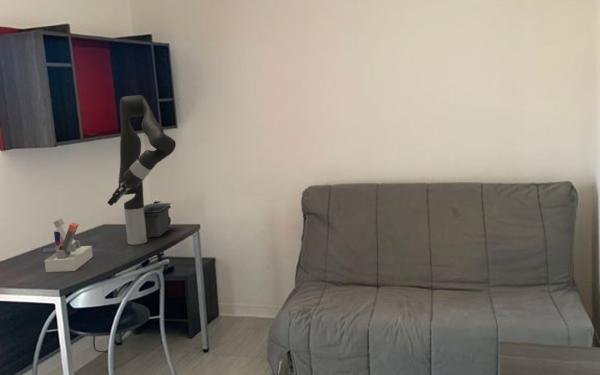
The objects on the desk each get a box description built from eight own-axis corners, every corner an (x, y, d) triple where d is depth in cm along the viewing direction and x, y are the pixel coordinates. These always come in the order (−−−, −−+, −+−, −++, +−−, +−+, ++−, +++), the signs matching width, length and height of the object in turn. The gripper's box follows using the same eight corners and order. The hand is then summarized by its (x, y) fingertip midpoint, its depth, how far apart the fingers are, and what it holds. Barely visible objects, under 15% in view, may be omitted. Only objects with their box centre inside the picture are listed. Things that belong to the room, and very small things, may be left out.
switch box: (66, 258, 270) (64, 240, 269) (92, 256, 270) (90, 238, 269) (45, 272, 248) (43, 253, 247) (74, 270, 248) (72, 251, 247)
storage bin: (161, 238, 298) (159, 210, 296) (131, 239, 300) (128, 211, 298) (175, 229, 319) (172, 202, 317) (146, 230, 321) (144, 203, 319)
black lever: (62, 253, 255) (73, 222, 253) (67, 255, 255) (78, 224, 253) (58, 255, 251) (69, 224, 249) (63, 257, 251) (75, 226, 249)
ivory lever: (74, 248, 266) (57, 220, 264) (78, 246, 266) (61, 218, 264) (70, 251, 262) (53, 222, 260) (75, 248, 262) (57, 220, 260)
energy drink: (55, 258, 271) (52, 232, 269) (57, 255, 276) (55, 229, 274) (68, 256, 272) (65, 231, 270) (70, 254, 277) (67, 228, 275)
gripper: (135, 164, 254) (109, 194, 256) (125, 168, 240) (98, 200, 242) (148, 176, 255) (123, 205, 257) (140, 181, 241) (112, 212, 243)
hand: (111, 202), depth 249 cm, fingers open, 4 cm apart
